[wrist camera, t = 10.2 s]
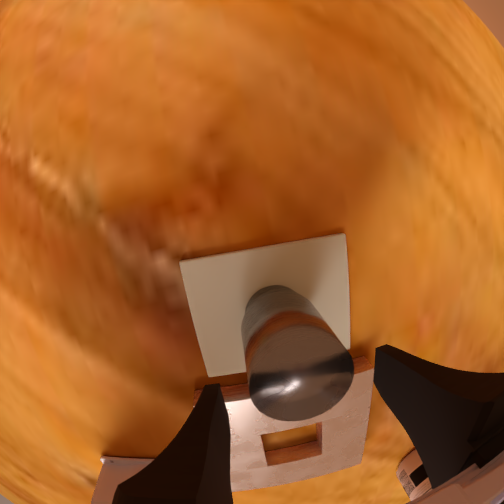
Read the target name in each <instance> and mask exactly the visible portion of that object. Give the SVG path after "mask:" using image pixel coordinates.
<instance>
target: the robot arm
mask: <svg viewBox="0 0 504 504" xmlns="http://www.w3.org/2000/svg"><path fill="white" fill-rule="evenodd" d="M373 382H374V384H375V386H376V388H377V390H378V391H379V393H380V395H381V397H382V398H383V400H384V401H385V403H386V404H387V405H388V407H389V408H390V409H391V411H392V412H393V413H394V415H395V416H396V418H397V419H398V420H399V422H400V423H401V424H402V426H403V427H404V429H405V430H406V432H407V433H408V435H409V437H410V439H411V440H412V442H413V444H414V446H415V448H416V450H417V452H418V454H419V456H420V459H421V461H422V463H423V465H424V468H425V470H426V473H427V475H428V478H429V481H430V484H431V487H432V490H431V491H429V492H428V493H426V494H424V495H422V496H420V497H418V498H416V499H414V500H412V501H410V502H408V503H406V504H500V503H501V502H502V501H503V500H504V373H477V372H469V371H462V370H457V369H452V368H448V367H444V366H441V365H438V364H435V363H432V362H429V361H426V360H424V359H421V358H419V357H416V356H414V355H411V354H409V353H407V352H404V351H402V350H400V349H398V348H395V347H393V346H390V345H387V344H386V345H383V346H380V347H377V348H376V353H375V367H374V379H373ZM230 449H231V432H230V423H229V415H228V412H227V408H226V405H225V402H224V398H223V395H222V391H221V388H220V384H219V383H218V384H210V385H205V386H204V388H203V390H202V392H201V395H200V397H199V399H198V401H197V403H196V405H195V407H194V408H193V410H192V412H191V414H190V416H189V417H188V419H187V421H186V422H185V424H184V425H183V427H182V428H181V430H180V431H179V433H178V434H177V435H176V437H175V438H174V439H173V440H172V441H171V443H170V444H169V445H168V446H167V447H166V448H165V449H164V450H163V451H162V452H161V454H160V455H159V456H158V457H156V458H155V459H137V458H120V457H108V456H101V458H100V460H101V461H102V463H103V466H102V469H101V472H100V475H99V478H98V481H97V484H96V487H95V490H94V494H93V497H92V501H91V504H233V498H232V490H231V481H230Z"/></svg>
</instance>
